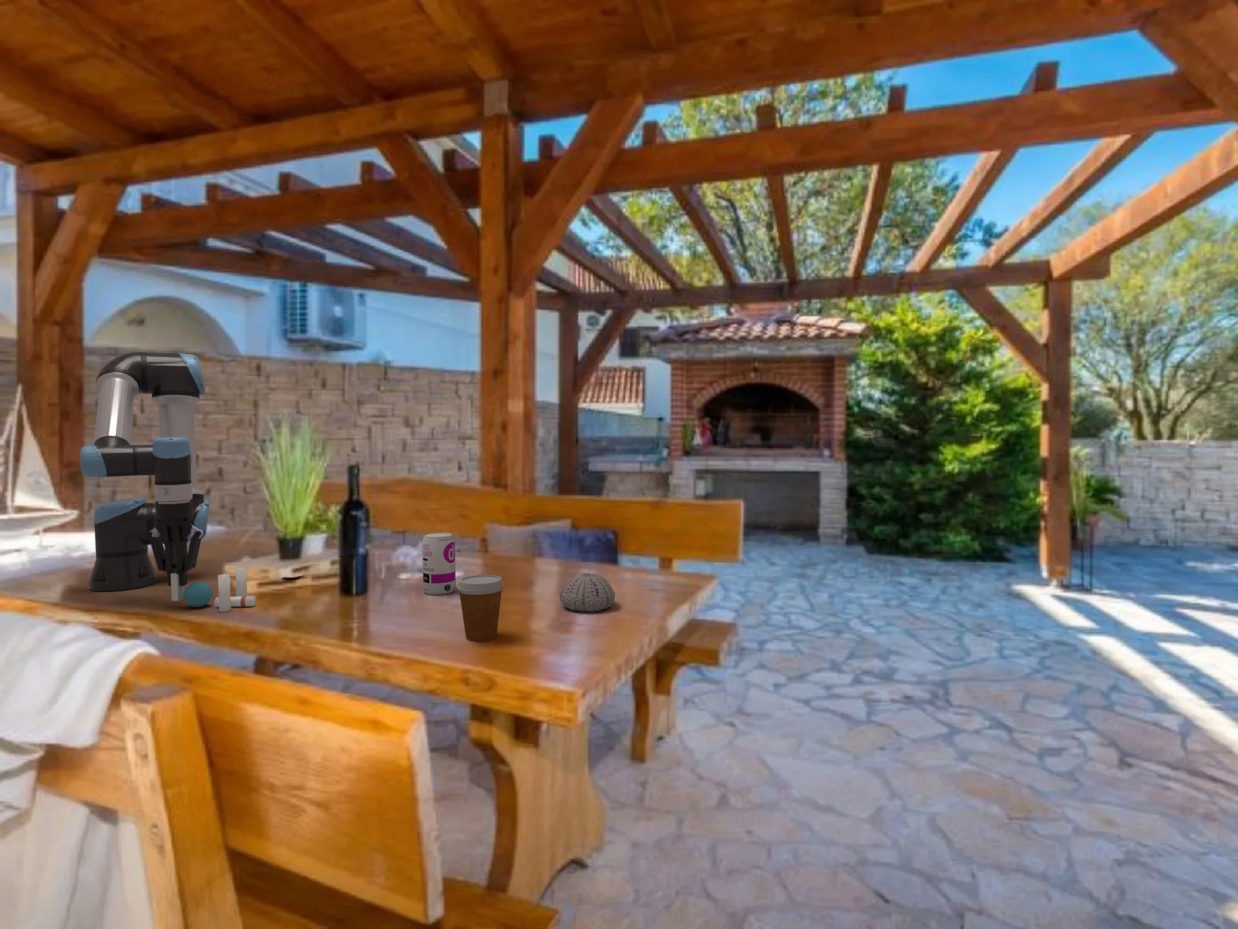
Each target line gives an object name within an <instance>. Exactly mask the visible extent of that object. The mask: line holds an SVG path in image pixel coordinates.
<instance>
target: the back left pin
mask: <svg viewBox="0 0 1238 929" xmlns="http://www.w3.org/2000/svg"><path fill="white" fill-rule="evenodd" d="M234 571H235V574H234V575H235V597H238V596H248V588H247V587H248V578H247V576H248V574H247V567H246V566H238V567H235V569H234Z"/></svg>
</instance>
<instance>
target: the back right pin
mask: <svg viewBox="0 0 1238 929" xmlns="http://www.w3.org/2000/svg"><path fill="white" fill-rule="evenodd" d="M230 576H231V575H230V574H229V573H223V574H222V573H221V574H218V575H217V582H218V583H217V587H218V590H217V591H218V597H219V607H218V612H219V613H227V611H228V612H230V610H231V611H232V607H231V599H230V597H231V583H230V582H231V580H230V579H231V578H230Z"/></svg>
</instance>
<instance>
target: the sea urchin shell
mask: <svg viewBox="0 0 1238 929" xmlns="http://www.w3.org/2000/svg"><path fill="white" fill-rule="evenodd" d="M558 598H559V601H560V602H561V604H562V606H563V605H564V607H565V608H566V609H568V610H570V611H573V612H582V613H584V612H588V613H593V612H599V611H602V610H605V609H609V607H611V606H612V605H613V604H614V602H615V599H616V593H615V591H614V588H613V587H612V585H611V584H610V583H609V581H608V580H607V578H604V577H603V576H602V575H600V574H598V573H589V572H587V573H585V572H583V573H580V574H578V575H574V576H573V577H571V578H570V579H569V580H567V582H566V583H565V584H564V585H563V586H562V589H560V592H559V597H558Z"/></svg>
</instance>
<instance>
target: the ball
mask: <svg viewBox="0 0 1238 929" xmlns="http://www.w3.org/2000/svg"><path fill="white" fill-rule="evenodd" d="M212 597H213V590H212V587H211V586H210V585H209V584H208V583H206V582H203V581H195V582H192V583H191V584H188V586H186V588H184V594H183V600H184V602H185V604H186V605H187V606H189V607H192V608H201V607H205V606H206V605H207V604H208V603H209V602H211V600H212Z"/></svg>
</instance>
